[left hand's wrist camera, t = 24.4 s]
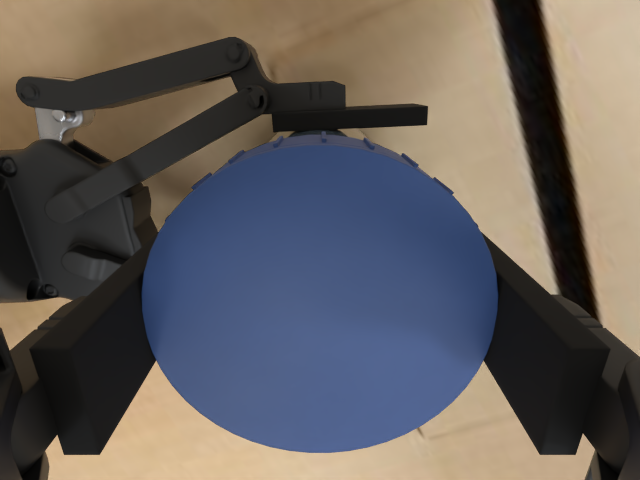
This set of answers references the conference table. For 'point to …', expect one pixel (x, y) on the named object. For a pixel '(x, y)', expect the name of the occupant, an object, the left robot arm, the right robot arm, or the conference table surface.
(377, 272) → the lid
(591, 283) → the conference table surface
